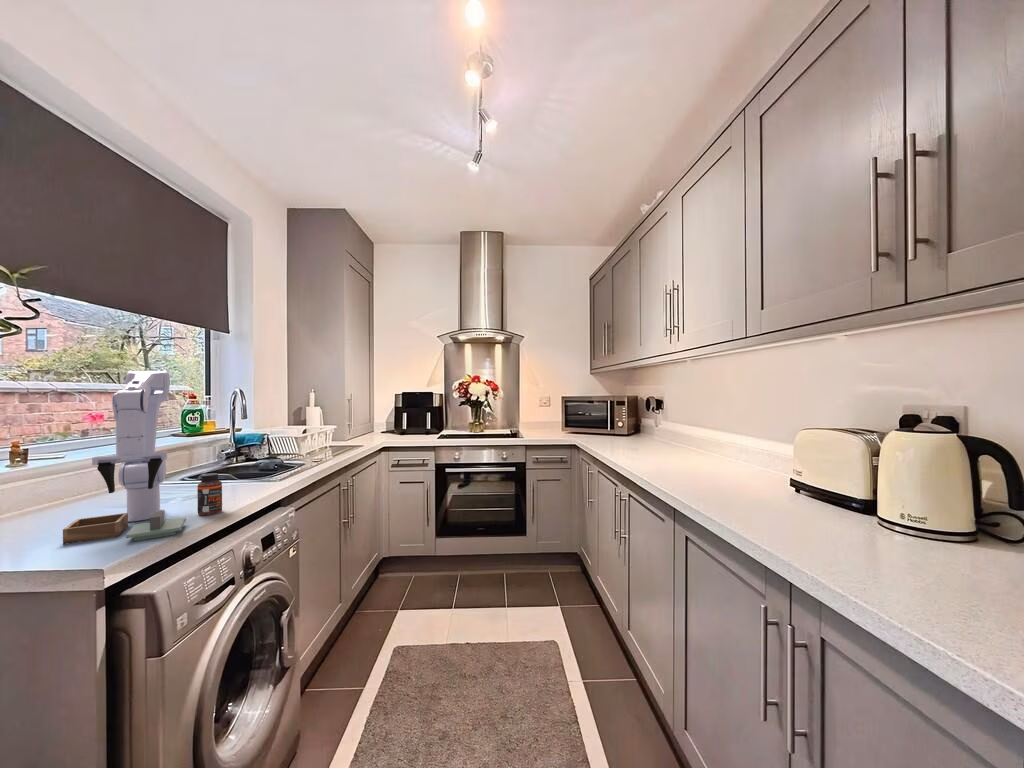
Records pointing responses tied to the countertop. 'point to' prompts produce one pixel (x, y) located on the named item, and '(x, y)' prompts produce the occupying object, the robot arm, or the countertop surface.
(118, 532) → the box
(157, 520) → the lid
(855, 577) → the countertop surface
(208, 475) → the supplement bottle
